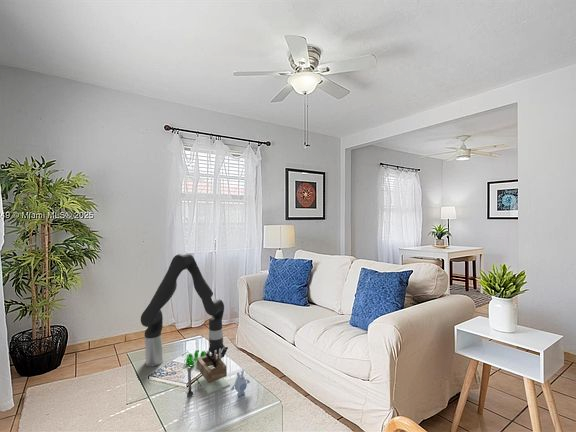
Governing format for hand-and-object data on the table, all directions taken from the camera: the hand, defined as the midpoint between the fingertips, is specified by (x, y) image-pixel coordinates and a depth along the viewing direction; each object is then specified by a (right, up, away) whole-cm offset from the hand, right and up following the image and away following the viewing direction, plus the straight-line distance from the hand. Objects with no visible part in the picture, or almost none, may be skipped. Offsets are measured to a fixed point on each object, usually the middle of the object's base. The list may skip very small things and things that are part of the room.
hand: (216, 366), depth 175 cm
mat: (-2, -6, -4) cm, 8 cm away
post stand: (-10, -7, -15) cm, 20 cm away
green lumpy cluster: (-15, -5, +16) cm, 22 cm away
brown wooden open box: (-2, -1, -4) cm, 5 cm away
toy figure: (+16, -7, -15) cm, 23 cm away
